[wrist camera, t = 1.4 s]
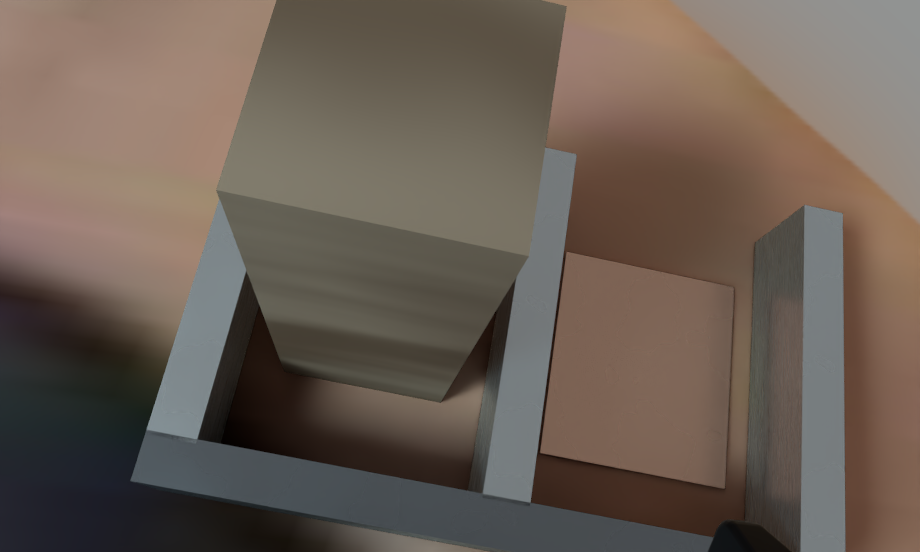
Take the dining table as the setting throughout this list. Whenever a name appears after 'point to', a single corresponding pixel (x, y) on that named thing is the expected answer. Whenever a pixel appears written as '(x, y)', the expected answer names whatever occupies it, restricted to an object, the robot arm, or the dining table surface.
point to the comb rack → (559, 397)
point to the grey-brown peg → (390, 180)
